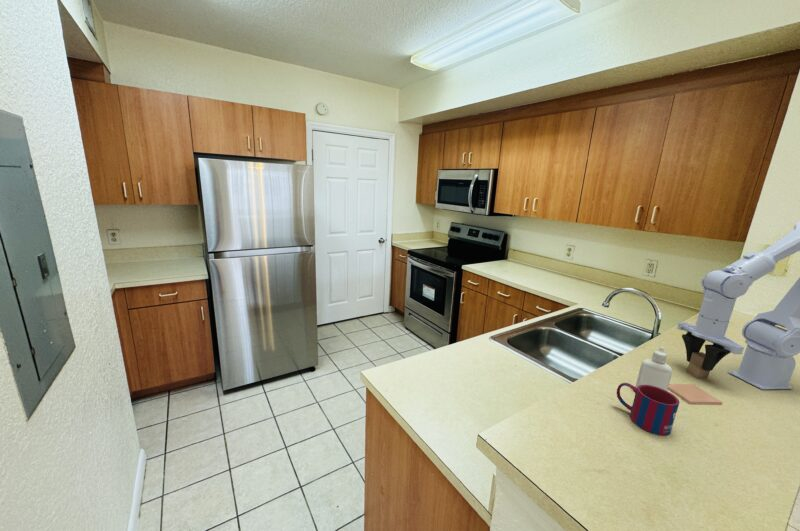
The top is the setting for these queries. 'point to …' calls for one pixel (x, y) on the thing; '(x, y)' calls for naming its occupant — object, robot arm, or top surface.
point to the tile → (693, 394)
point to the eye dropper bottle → (655, 371)
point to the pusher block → (697, 366)
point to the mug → (652, 408)
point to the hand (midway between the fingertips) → (698, 365)
